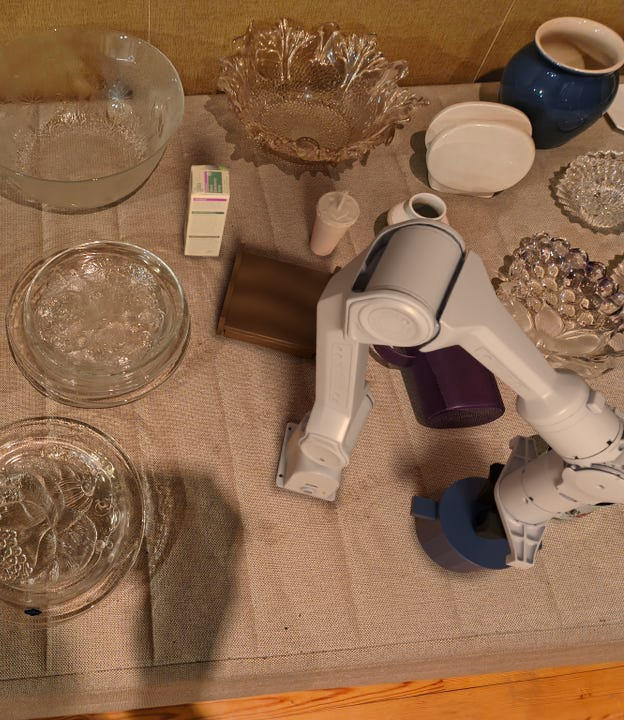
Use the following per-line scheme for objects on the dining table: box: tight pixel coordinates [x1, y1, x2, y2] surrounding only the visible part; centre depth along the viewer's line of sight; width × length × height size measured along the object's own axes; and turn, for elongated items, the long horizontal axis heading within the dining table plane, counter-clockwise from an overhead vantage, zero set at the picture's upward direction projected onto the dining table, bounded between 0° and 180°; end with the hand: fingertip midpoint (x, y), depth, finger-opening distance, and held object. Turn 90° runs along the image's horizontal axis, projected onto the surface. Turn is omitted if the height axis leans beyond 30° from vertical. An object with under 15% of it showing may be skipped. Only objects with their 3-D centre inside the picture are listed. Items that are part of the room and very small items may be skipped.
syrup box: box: [183, 164, 231, 257], centre depth 101 cm, size 6×6×14 cm
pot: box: [409, 486, 543, 574], centre depth 84 cm, size 10×16×7 cm, turn 74°
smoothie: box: [309, 188, 361, 257], centre depth 101 cm, size 6×6×14 cm
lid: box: [438, 476, 513, 571], centre depth 79 cm, size 11×11×5 cm
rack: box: [215, 241, 343, 361], centre depth 99 cm, size 14×16×5 cm
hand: (484, 518), depth 80 cm, fingers open, 3 cm apart
